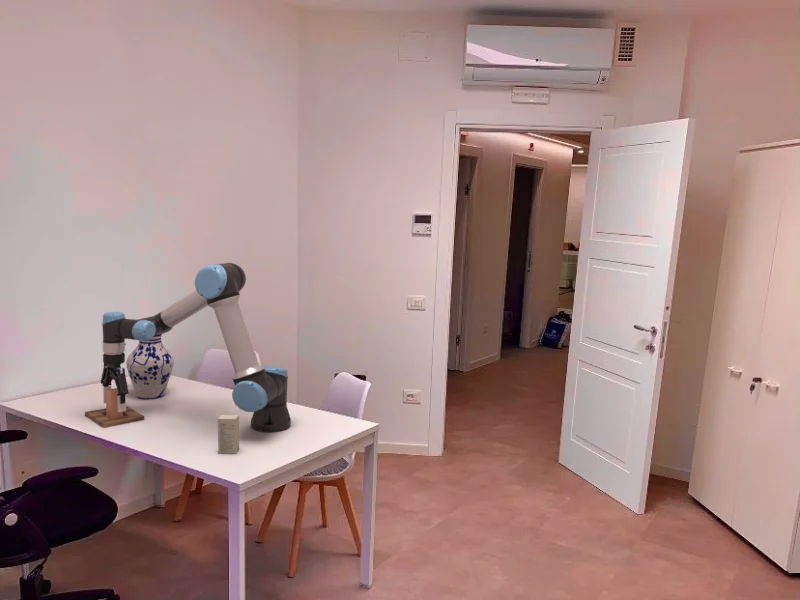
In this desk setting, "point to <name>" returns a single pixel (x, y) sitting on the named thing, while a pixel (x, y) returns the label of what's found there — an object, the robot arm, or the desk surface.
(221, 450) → the skincare box
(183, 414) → the desk surface
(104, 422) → the socket frame
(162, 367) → the vase
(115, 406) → the peg
